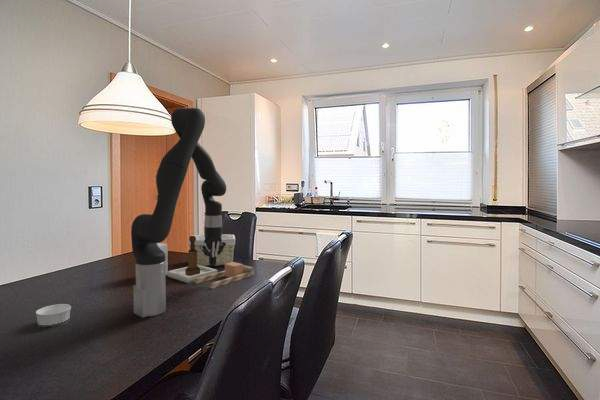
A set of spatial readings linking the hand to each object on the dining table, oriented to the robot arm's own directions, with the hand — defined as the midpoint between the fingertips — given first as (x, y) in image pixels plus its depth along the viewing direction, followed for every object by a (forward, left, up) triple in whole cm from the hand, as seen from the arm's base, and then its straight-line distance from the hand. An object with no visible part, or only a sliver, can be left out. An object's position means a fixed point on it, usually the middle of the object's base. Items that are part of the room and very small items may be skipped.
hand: (212, 265), depth 143 cm
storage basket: (+22, +28, -8) cm, 37 cm away
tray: (+1, +16, -8) cm, 18 cm away
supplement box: (-11, +29, -8) cm, 32 cm away
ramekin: (-56, +7, -8) cm, 57 cm away
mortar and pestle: (+1, +16, -7) cm, 17 cm away
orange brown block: (+12, 0, -8) cm, 14 cm away
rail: (+7, 0, -8) cm, 11 cm away
